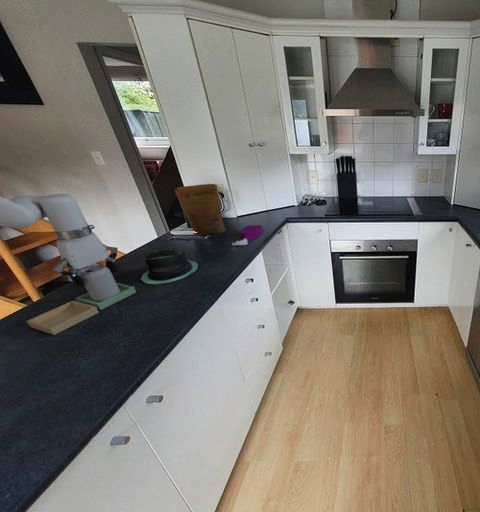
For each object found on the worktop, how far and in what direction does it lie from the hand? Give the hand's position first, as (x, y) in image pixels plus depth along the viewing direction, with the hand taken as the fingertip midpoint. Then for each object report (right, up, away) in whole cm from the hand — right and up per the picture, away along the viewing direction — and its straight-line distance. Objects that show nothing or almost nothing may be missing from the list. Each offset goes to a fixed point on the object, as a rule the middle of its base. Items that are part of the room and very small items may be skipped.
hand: (97, 278), depth 96 cm
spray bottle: (+25, +18, +57) cm, 65 cm away
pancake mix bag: (0, +21, +61) cm, 65 cm away
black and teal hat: (+9, +1, +22) cm, 23 cm away
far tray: (0, -7, +4) cm, 8 cm away
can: (0, -7, +4) cm, 8 cm away
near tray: (-3, -13, -7) cm, 15 cm away
